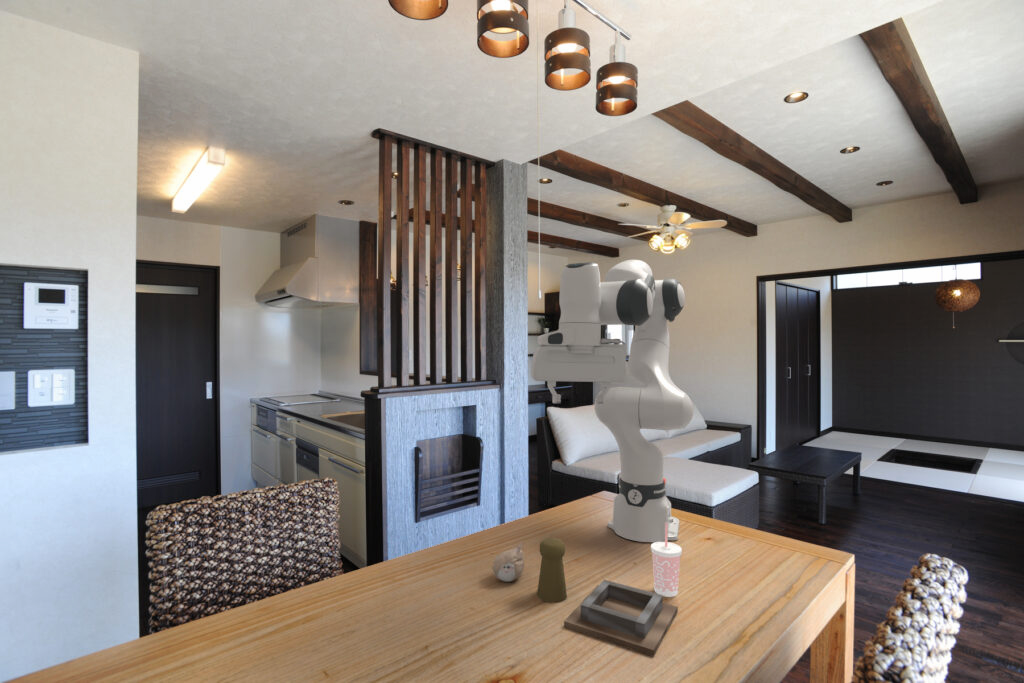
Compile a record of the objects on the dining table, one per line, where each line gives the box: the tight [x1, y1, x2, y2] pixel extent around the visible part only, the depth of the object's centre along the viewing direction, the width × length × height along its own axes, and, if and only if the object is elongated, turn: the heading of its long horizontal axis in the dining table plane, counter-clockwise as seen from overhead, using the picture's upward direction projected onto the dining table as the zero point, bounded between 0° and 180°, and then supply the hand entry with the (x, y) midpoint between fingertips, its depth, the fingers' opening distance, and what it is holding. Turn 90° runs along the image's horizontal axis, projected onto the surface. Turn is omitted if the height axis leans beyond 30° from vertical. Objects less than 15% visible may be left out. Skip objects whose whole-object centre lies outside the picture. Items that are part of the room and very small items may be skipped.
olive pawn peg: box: [536, 537, 568, 604], centre depth 101 cm, size 6×6×11 cm
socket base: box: [563, 579, 679, 657], centre depth 92 cm, size 16×16×4 cm
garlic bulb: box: [492, 541, 525, 583], centre depth 107 cm, size 7×6×8 cm
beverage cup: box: [650, 522, 683, 598], centre depth 103 cm, size 6×6×14 cm
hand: (578, 403), depth 106 cm, fingers open, 8 cm apart
